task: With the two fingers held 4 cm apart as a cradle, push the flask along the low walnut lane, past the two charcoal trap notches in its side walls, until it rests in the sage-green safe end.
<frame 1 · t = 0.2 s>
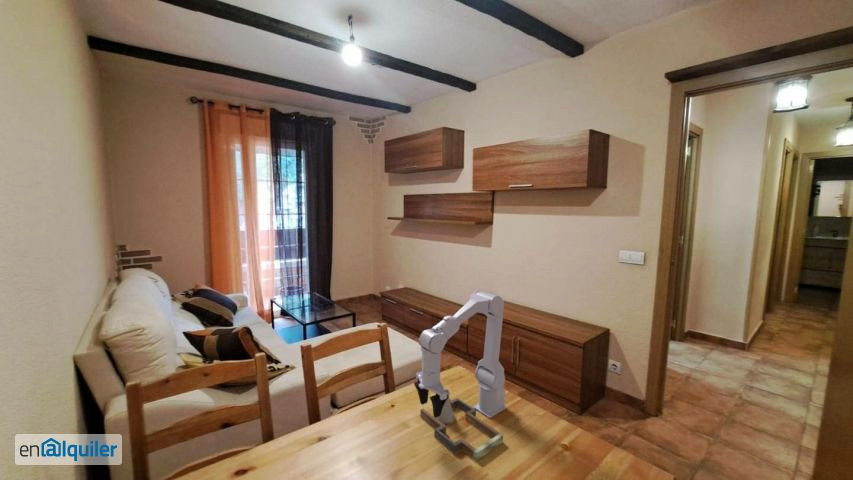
hand: (430, 409, 108), 10 cm above the table, fingers open, 7 cm apart
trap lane: (457, 427, 115), on the table
flask: (444, 418, 119), on the table
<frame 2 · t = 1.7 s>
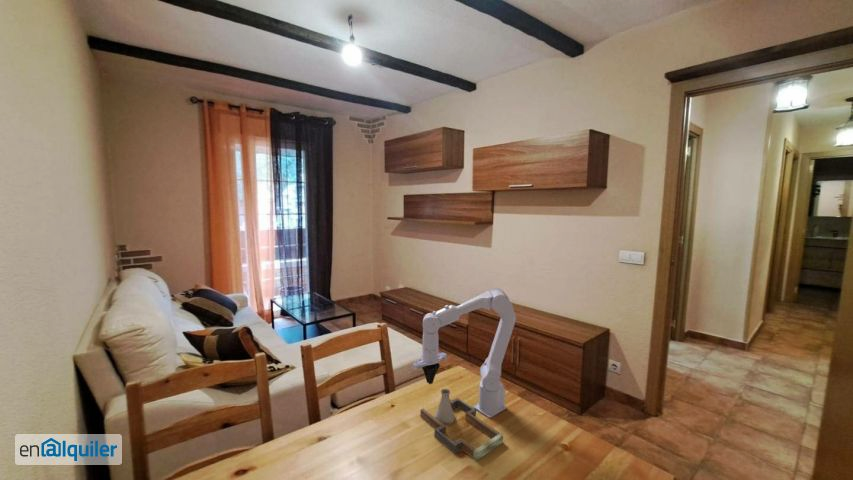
hand: (429, 382, 125), 9 cm above the table, fingers closed
nothing on the table moved.
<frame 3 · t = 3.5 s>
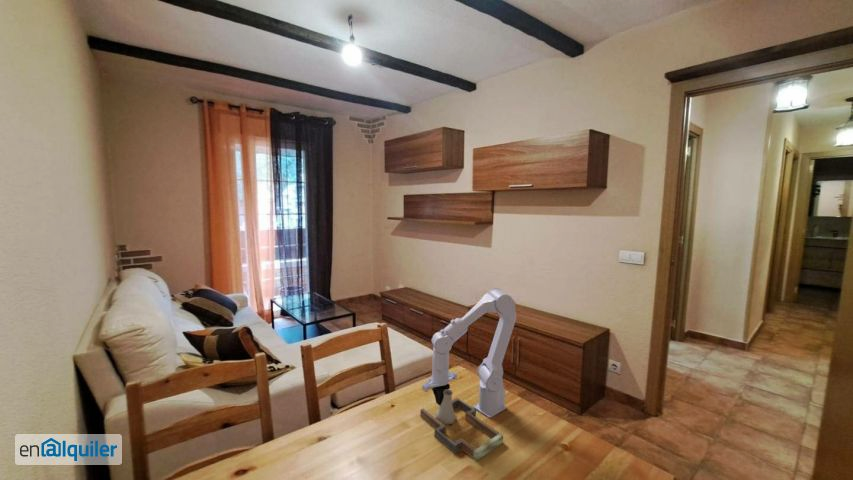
hand: (439, 403, 121), 4 cm above the table, fingers closed, pressing on flask
flask: (445, 418, 119), on the table, touching gripper
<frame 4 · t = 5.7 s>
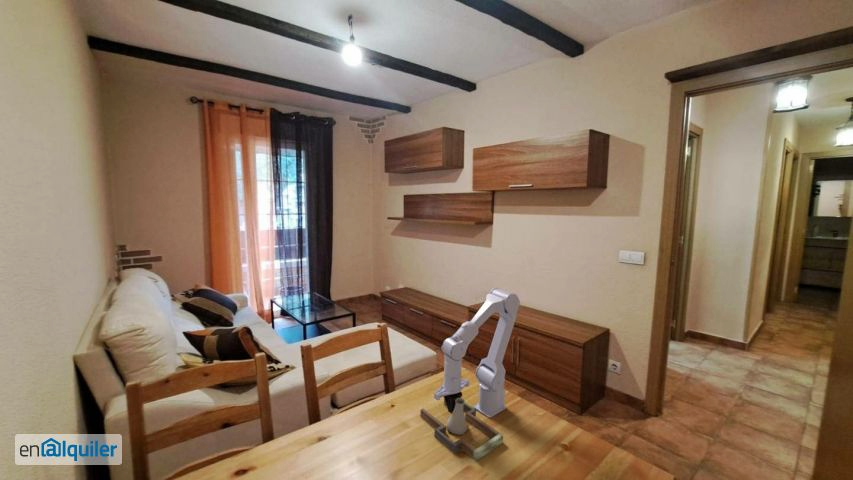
hand: (451, 411, 116), 4 cm above the table, fingers closed, pressing on flask
flask: (456, 427, 114), on the table, touching gripper
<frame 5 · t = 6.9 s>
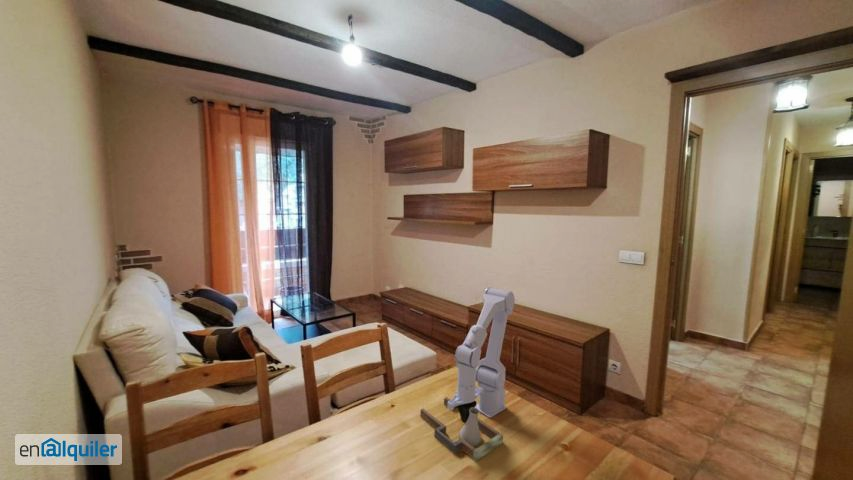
hand: (465, 421, 111), 4 cm above the table, fingers closed, pressing on flask
flask: (469, 438, 109), on the table, touching gripper
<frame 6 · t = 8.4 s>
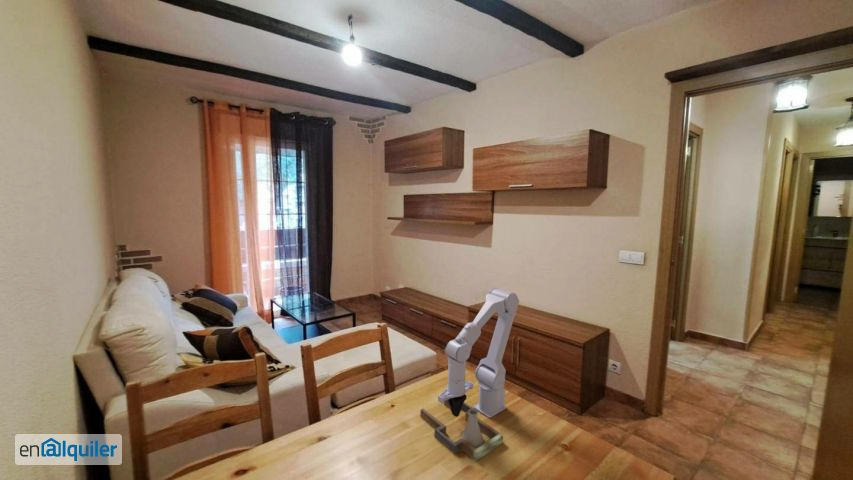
hand: (455, 414, 115), 4 cm above the table, fingers closed
flask: (472, 441, 108), on the table
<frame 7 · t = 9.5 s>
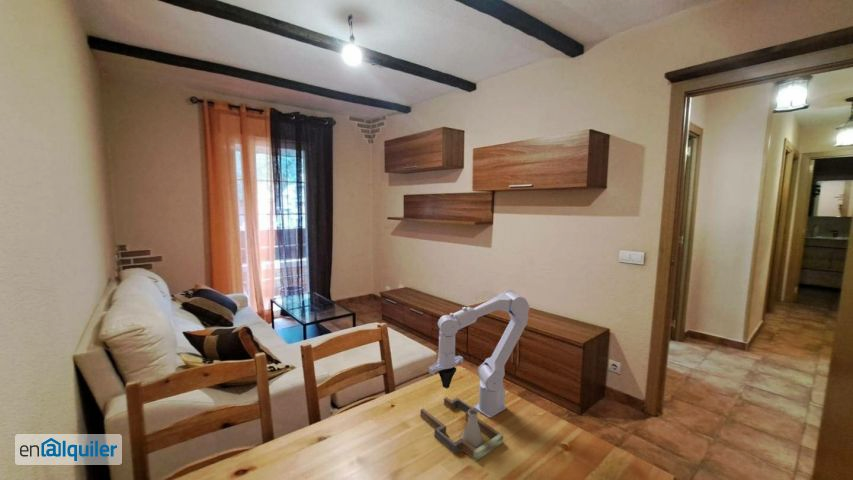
hand: (445, 386, 121), 10 cm above the table, fingers closed
nothing on the table moved.
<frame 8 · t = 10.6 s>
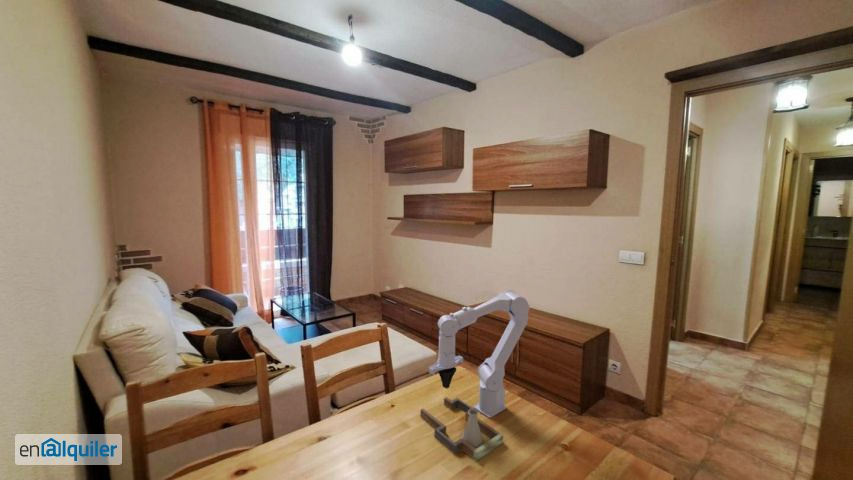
hand: (445, 386, 121), 10 cm above the table, fingers closed
nothing on the table moved.
at the end: flask inside the target area (1.8 cm from its centre), on the table; flask tilted 0° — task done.
